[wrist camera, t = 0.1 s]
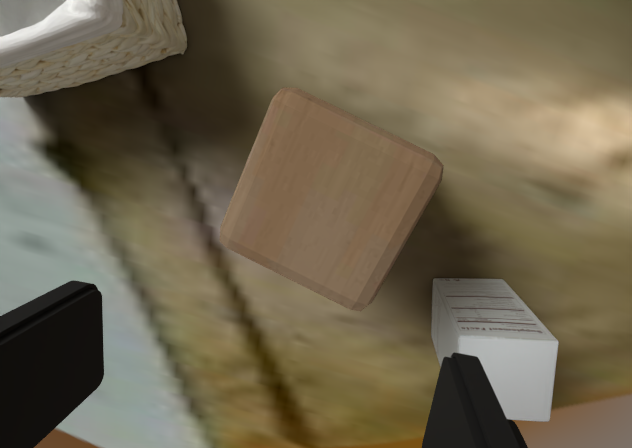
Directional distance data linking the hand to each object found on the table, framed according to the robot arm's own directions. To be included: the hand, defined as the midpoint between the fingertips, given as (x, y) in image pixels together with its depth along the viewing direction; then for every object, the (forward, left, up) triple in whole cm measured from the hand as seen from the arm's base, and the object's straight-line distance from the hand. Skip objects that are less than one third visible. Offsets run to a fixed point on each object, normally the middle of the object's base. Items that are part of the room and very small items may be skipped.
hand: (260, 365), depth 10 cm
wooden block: (-2, 0, -31) cm, 31 cm away
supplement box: (+11, +15, -31) cm, 36 cm away
